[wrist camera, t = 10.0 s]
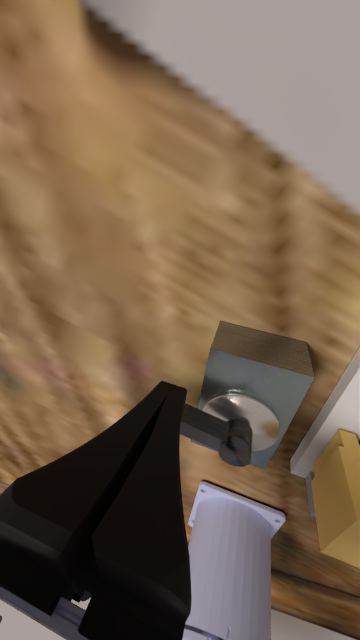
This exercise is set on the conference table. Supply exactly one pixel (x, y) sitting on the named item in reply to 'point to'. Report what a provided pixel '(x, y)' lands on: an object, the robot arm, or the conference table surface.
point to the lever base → (256, 384)
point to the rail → (330, 425)
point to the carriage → (338, 498)
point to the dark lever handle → (219, 435)
